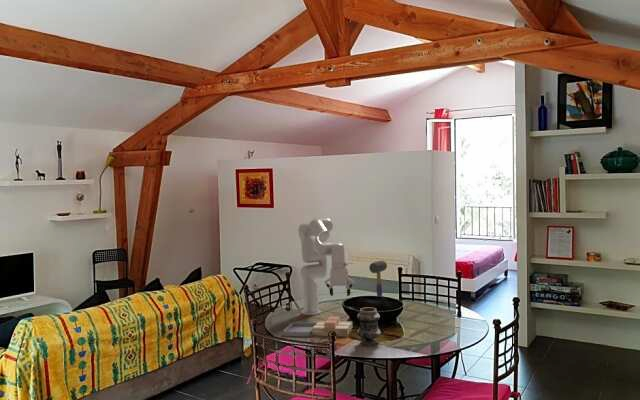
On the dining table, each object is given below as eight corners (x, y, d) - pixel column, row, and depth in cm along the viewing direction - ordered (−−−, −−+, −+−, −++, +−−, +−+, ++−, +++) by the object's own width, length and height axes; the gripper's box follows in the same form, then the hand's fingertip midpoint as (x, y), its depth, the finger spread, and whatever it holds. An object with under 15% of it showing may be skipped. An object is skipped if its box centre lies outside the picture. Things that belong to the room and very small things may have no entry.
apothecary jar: (378, 347, 255) (376, 312, 255) (355, 346, 259) (353, 311, 259) (383, 340, 267) (381, 306, 266) (361, 339, 271) (359, 305, 270)
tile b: (327, 325, 287) (326, 319, 287) (337, 325, 285) (337, 320, 285) (324, 328, 281) (324, 322, 281) (335, 328, 279) (334, 323, 279)
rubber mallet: (379, 308, 335) (377, 263, 334) (370, 306, 339) (368, 262, 338) (389, 303, 344) (387, 260, 343) (380, 302, 349) (378, 259, 348)
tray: (293, 326, 303) (293, 321, 303) (319, 326, 299) (318, 322, 299) (282, 335, 284) (282, 331, 284) (310, 336, 280) (309, 332, 280)
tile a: (330, 321, 294) (329, 316, 293) (340, 321, 292) (339, 316, 292) (327, 324, 288) (327, 319, 288) (337, 324, 286) (337, 319, 286)
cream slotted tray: (319, 327, 296) (318, 320, 296) (352, 328, 291) (352, 321, 291) (312, 335, 282) (311, 328, 282) (347, 336, 277) (347, 329, 277)
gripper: (354, 264, 288) (356, 294, 288) (325, 264, 292) (327, 294, 293) (351, 266, 280) (353, 297, 281) (321, 266, 285) (323, 297, 286)
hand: (340, 295), depth 287 cm, fingers open, 9 cm apart
